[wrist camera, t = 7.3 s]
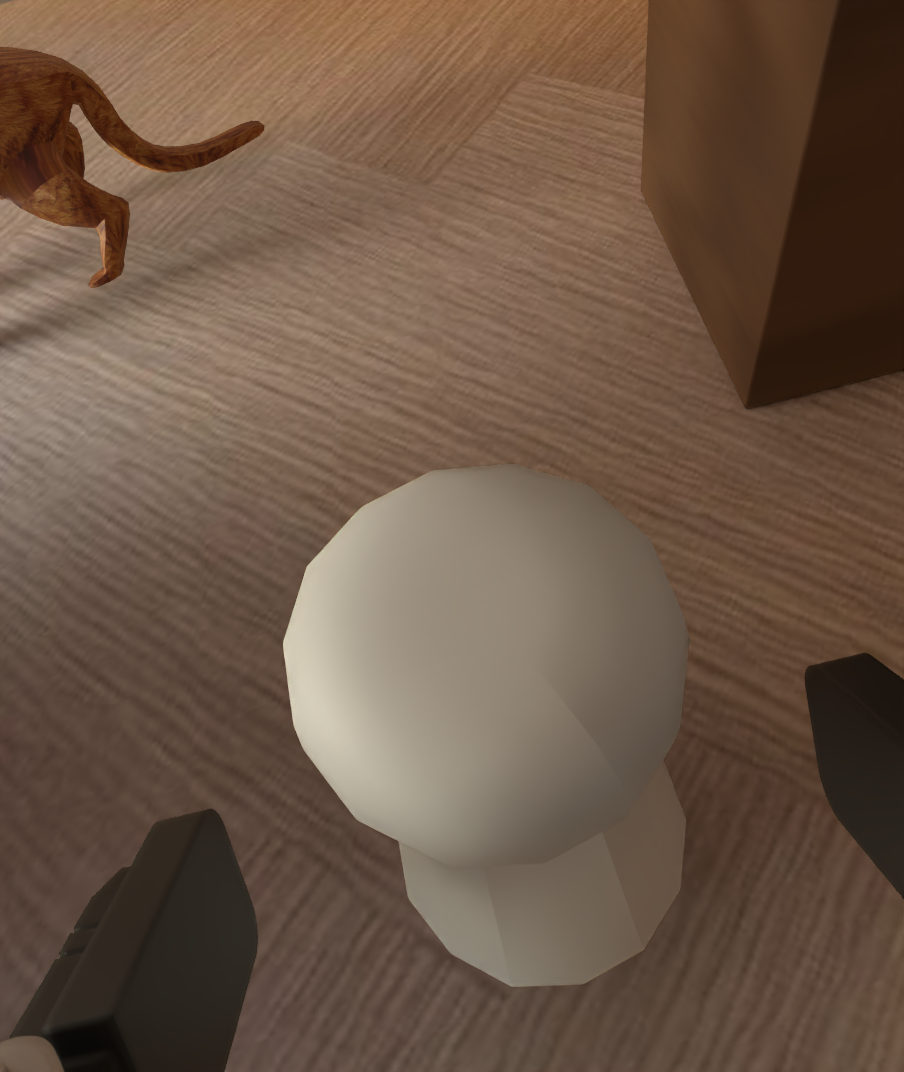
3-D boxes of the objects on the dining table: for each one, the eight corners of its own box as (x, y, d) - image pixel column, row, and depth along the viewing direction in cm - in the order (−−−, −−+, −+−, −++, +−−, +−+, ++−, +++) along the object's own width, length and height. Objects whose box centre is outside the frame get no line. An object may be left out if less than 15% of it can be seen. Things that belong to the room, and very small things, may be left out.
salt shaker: (417, 993, 18) (127, 939, 7) (419, 731, 21) (214, 404, 10) (696, 988, 18) (854, 922, 6) (660, 717, 20) (725, 348, 9)
